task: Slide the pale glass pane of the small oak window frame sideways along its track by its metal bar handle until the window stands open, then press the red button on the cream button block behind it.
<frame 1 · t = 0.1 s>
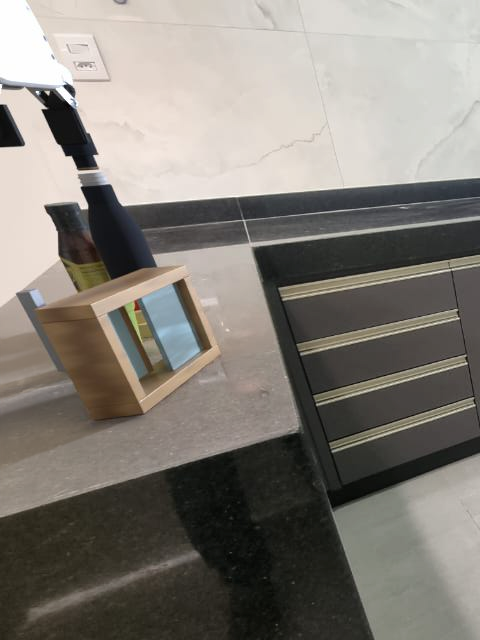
hand: (43, 145, 60), 28 cm above the counter, tool pointing down, fingers open, 9 cm apart
plant pot: (118, 360, 76), on the counter
button: (137, 304, 85), point 4 cm above the counter, slide at 0.1 cm
button block: (149, 330, 87), on the counter
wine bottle: (154, 317, 94), on the counter
sauce bottle: (116, 318, 94), on the counter
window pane: (91, 335, 60), point 8 cm above the counter, slide at 0.0 cm
window frame: (165, 383, 67), on the counter
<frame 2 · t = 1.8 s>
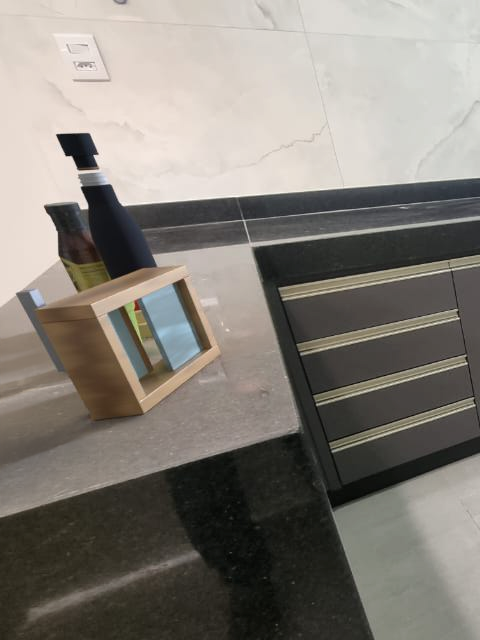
nothing on the counter moved.
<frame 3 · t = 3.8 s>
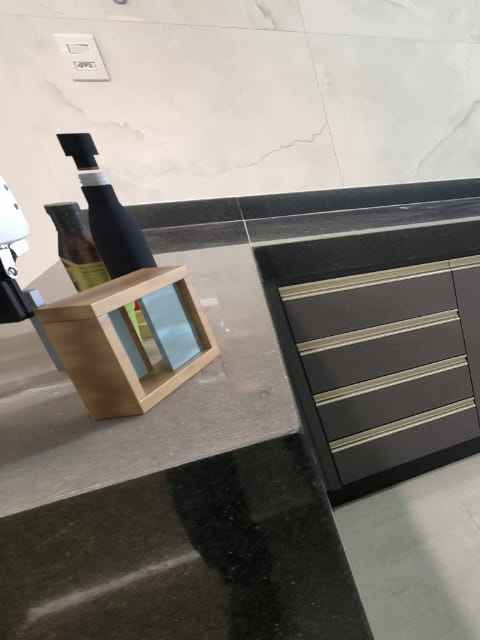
hand: (11, 320, 53), 12 cm above the counter, tool pointing down, fingers closed
nothing on the counter moved.
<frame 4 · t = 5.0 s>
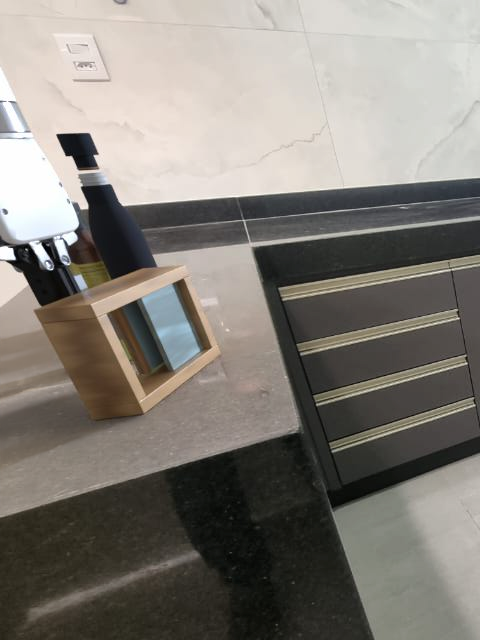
hand: (63, 303, 59), 12 cm above the counter, tool pointing down, fingers closed
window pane: (127, 318, 66), point 8 cm above the counter, slide at 6.3 cm, touching gripper
everything else where it was.
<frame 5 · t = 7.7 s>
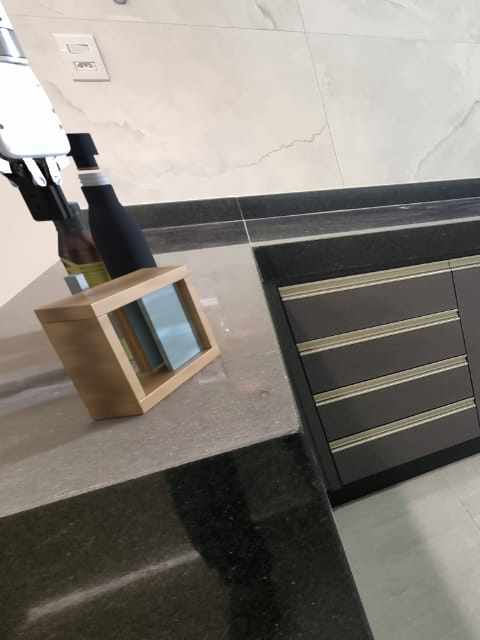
hand: (54, 219, 65), 20 cm above the counter, tool pointing down, fingers closed
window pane: (128, 317, 66), point 8 cm above the counter, slide at 6.5 cm
everything else where it was.
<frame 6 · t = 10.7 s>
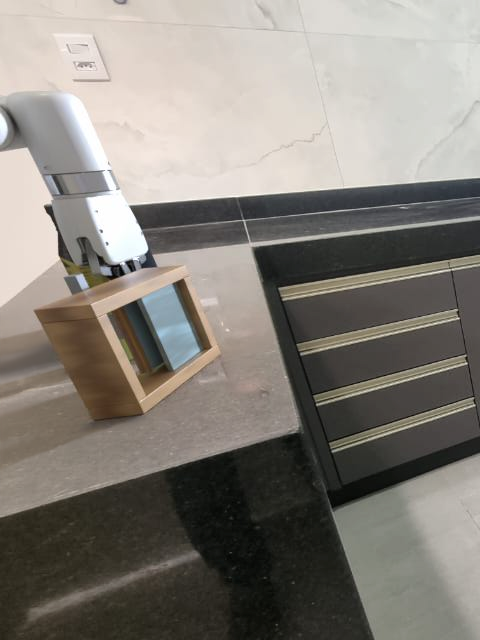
hand: (139, 304, 85), 4 cm above the counter, tool pointing down, fingers closed
button: (139, 310, 85), point 4 cm above the counter, slide at -0.8 cm, touching gripper
everything else where it was.
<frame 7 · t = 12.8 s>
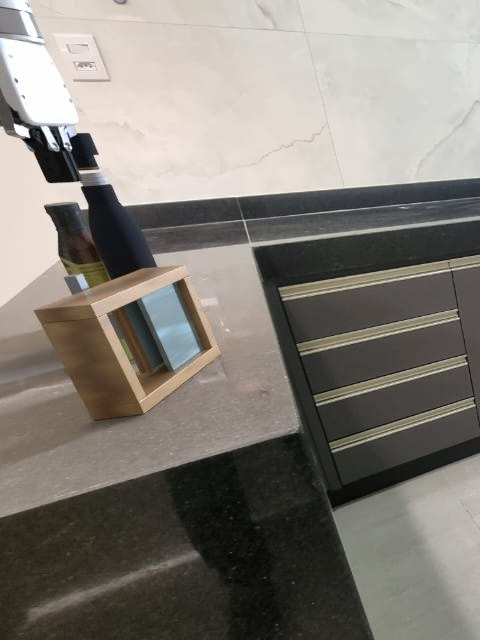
hand: (65, 182, 73), 24 cm above the counter, tool pointing down, fingers closed
button: (137, 304, 85), point 4 cm above the counter, slide at 0.1 cm
everything else where it was.
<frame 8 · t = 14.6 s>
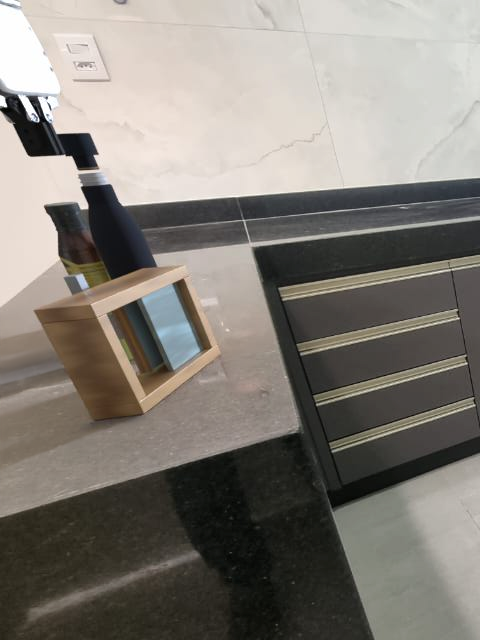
hand: (47, 155, 70), 27 cm above the counter, tool pointing down, fingers closed
nothing on the counter moved.
at the end: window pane slide at 6.5 cm; button pushed in 1.1 cm at the most during the clip, back to where it started at the end; button slide at 0.1 cm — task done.
